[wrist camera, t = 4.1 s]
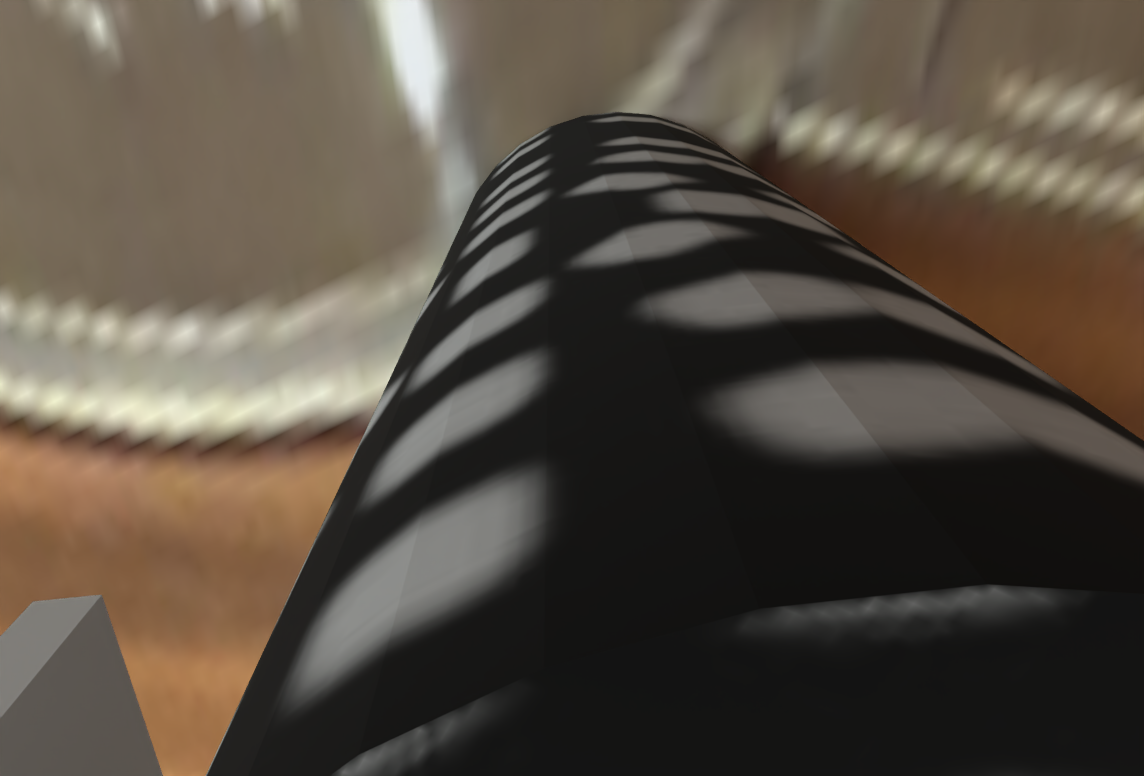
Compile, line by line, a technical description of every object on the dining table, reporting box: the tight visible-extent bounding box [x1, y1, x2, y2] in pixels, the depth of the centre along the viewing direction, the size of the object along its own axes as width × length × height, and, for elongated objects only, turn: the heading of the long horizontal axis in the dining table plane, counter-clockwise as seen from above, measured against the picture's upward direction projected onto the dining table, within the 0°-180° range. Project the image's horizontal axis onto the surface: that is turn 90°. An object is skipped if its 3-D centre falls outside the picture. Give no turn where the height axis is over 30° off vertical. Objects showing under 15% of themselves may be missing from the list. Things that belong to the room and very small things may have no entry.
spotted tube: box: [206, 112, 1144, 776], centre depth 14 cm, size 8×8×20 cm
